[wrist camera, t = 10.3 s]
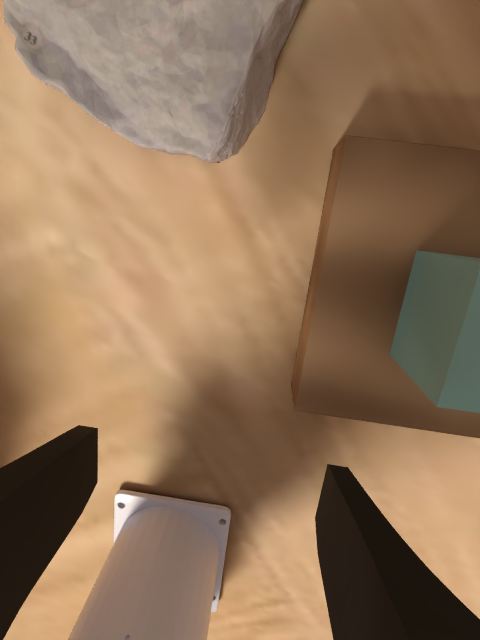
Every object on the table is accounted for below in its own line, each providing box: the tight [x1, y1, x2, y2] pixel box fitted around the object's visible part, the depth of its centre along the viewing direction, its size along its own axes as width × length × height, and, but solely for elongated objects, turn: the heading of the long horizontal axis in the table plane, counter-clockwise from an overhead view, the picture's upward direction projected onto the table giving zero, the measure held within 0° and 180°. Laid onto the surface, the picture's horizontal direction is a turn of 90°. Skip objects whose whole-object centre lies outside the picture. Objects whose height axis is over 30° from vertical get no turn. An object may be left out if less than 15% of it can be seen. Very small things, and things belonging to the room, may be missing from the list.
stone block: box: [4, 0, 303, 163], centre depth 16 cm, size 12×5×10 cm
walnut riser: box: [291, 136, 480, 438], centre depth 18 cm, size 13×13×3 cm
